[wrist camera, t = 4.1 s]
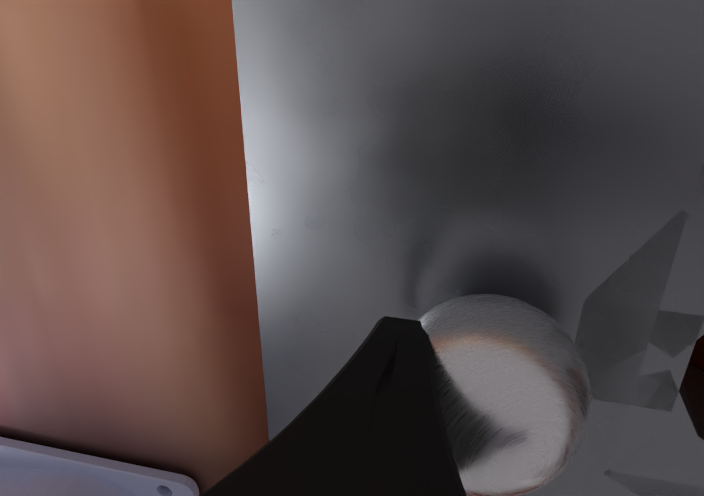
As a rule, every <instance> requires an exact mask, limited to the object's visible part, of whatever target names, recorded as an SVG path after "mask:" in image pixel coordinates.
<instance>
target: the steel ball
mask: <svg viewBox="0 0 704 496" xmlns="http://www.w3.org/2000/svg"><path fill="white" fill-rule="evenodd" d="M417 321H421V325H422V327H423V329H424V330H425V332H426V333H427V334H428V336H429V340H430V343H431V345H432V348H433V351H434V362H435V372H436V380H437V387H438V393H439V398H440V403H441V408H442V413H443V418H444V422H445V426H446V430H447V434H448V438H449V441H450V445H451V448H452V452H453V456H454V459H455V462H456V465H457V469H458V472H459V475H460V478H461V481H462V484H463V487H464V489H465V492H466V495H467V496H522V495H525V494H528V493H530V492H533V491H535V490H537V489H539V488H541V487H543V486H544V485H546V484H548V483H549V482H551V481H552V480H553V479H555V478H556V477H557V476H558V475H559V474H561V473H562V472H563V471H564V470H565V469H566V468H567V466H568V465H569V464H570V463H571V461H572V460H573V459H574V457H575V456H576V454H577V452H578V451H579V449H580V447H581V445H582V443H583V441H584V438H585V436H586V433H587V430H588V426H589V422H590V416H591V408H592V396H591V385H590V380H589V376H588V372H587V368H586V366H585V363H584V360H583V358H582V356H581V354H580V352H579V350H578V348H577V347H576V345H575V343H574V342H573V340H572V339H571V338H570V336H569V335H568V334H567V332H566V331H565V330H564V329H563V328H562V327H561V326H560V325H559V324H558V323H557V322H556V321H555V320H554V319H552V318H551V317H550V316H549V315H547V314H546V313H544V312H543V311H542V310H540V309H538V308H536V307H535V306H533V305H531V304H529V303H526V302H524V301H522V300H519V299H516V298H512V297H508V296H503V295H498V294H473V295H466V296H461V297H458V298H454V299H451V300H449V301H446V302H444V303H442V304H440V305H438V306H436V307H434V308H433V309H431V310H430V311H428V312H427V313H425V314H424V315H423V316H422V317H420V318H419V319H418V320H417Z"/></svg>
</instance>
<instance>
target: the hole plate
mask: <svg viewBox="0 0 704 496" xmlns="http://www.w3.org/2000/svg"><path fill="white" fill-rule="evenodd" d="M232 7H233V19H234V31H235V42H236V54H237V66H238V78H239V90H240V102H241V114H242V125H243V137H244V149H245V161H246V173H247V185H248V196H249V208H250V220H251V232H252V244H253V256H254V267H255V279H256V291H257V303H258V315H259V327H260V338H261V350H262V362H263V374H264V386H265V398H266V409H267V421H268V433H269V441H271V440H272V439H273V438H274V437H275V436H276V435H277V434H278V433H280V432H281V431H282V430H283V429H284V428H285V427H286V426H287V425H288V424H289V423H290V422H291V421H292V420H293V419H294V418H295V417H296V416H297V415H298V414H299V413H300V412H301V411H302V410H303V409H304V408H305V407H306V406H307V405H308V404H309V403H310V402H311V401H312V400H313V399H314V398H315V397H316V396H317V395H318V394H319V393H320V392H321V391H322V390H323V389H324V388H325V387H326V386H327V384H328V383H329V382H330V381H331V380H332V379H333V378H334V377H335V375H336V374H337V373H338V372H339V371H340V370H341V369H342V367H343V366H344V365H345V364H346V363H347V362H348V360H349V359H350V358H351V357H352V355H353V354H354V353H355V352H356V350H357V349H358V348H359V347H360V345H361V344H362V343H363V341H364V340H365V339H366V337H367V336H368V335H369V333H370V332H371V330H372V329H373V328H374V326H375V325H376V323H377V322H378V320H380V319H381V318H383V317H384V316H388V317H395V318H403V319H410V320H418V319H419V318H420V317H422V316H423V315H424V314H425V313H427V312H428V311H430V310H431V309H433V308H434V307H436V306H438V305H440V304H442V303H444V302H446V301H449V300H451V299H454V298H458V297H461V296H466V295H473V294H498V295H503V296H508V297H512V298H516V299H519V300H522V301H524V302H526V303H529V304H531V305H533V306H535V307H536V308H538V309H540V310H542V311H543V312H544V313H546V314H547V315H549V316H550V317H551V318H552V319H554V320H555V321H556V322H557V323H558V324H559V325H560V326H561V327H562V328H563V329H564V330H565V331H566V332H567V334H568V335H569V336H570V338H571V339H572V340H573V342H574V343H575V345H576V347H577V348H578V350H579V352H580V354H581V356H582V358H583V360H584V363H585V366H586V368H587V372H588V376H589V380H590V385H591V396H592V408H591V416H590V422H589V426H588V430H587V433H586V436H585V438H584V441H583V443H582V445H581V447H580V449H579V451H578V452H577V454H576V456H575V457H574V459H573V460H572V461H571V463H570V464H569V465H568V466H567V468H566V469H565V470H564V471H563V472H562V473H561V474H559V475H558V476H557V477H556V478H555V479H553V480H552V481H551V482H549V483H548V484H546V485H544V486H543V487H541V488H539V489H537V490H535V491H533V492H530V493H528V494H525V495H522V496H704V371H702V370H700V369H699V368H697V367H696V366H694V365H693V364H691V363H690V362H689V360H690V357H691V354H692V351H693V349H694V346H695V343H696V340H697V339H699V338H700V337H701V336H703V335H704V0H232Z"/></svg>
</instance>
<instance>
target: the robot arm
mask: <svg viewBox="0 0 704 496" xmlns="http://www.w3.org/2000/svg"><path fill="white" fill-rule="evenodd" d="M0 496H467V495H466V492H465V489H464V487H463V484H462V481H461V478H460V475H459V472H458V469H457V465H456V462H455V459H454V456H453V452H452V448H451V445H450V441H449V438H448V434H447V430H446V426H445V422H444V418H443V413H442V408H441V403H440V398H439V393H438V387H437V380H436V372H435V362H434V351H433V348H432V345H431V343H430V340H429V336H428V334H427V333H426V332H425V330H424V329H423V327H422V325H421V321H417V320H410V319H403V318H395V317H388V316H384V317H383V318H381V319H380V320H378V322H377V323H376V325H375V326H374V328H373V329H372V330H371V332H370V333H369V335H368V336H367V337H366V339H365V340H364V341H363V343H362V344H361V345H360V347H359V348H358V349H357V350H356V352H355V353H354V354H353V355H352V357H351V358H350V359H349V360H348V362H347V363H346V364H345V365H344V366H343V367H342V369H341V370H340V371H339V372H338V373H337V374H336V375H335V377H334V378H333V379H332V380H331V381H330V382H329V383H328V384H327V386H326V387H325V388H324V389H323V390H322V391H321V392H320V393H319V394H318V395H317V396H316V397H315V398H314V399H313V400H312V401H311V402H310V403H309V404H308V405H307V406H306V407H305V408H304V409H303V410H302V411H301V412H300V413H299V414H298V415H297V416H296V417H295V418H294V419H293V420H292V421H291V422H290V423H289V424H288V425H287V426H286V427H285V428H284V429H283V430H282V431H281V432H280V433H278V434H277V435H276V436H275V437H274V438H273V439H272V440H271V441H269V442H268V443H267V444H266V445H265V446H264V447H262V448H261V449H260V450H259V451H258V452H256V453H255V454H254V455H253V456H252V457H250V458H249V459H248V460H247V461H245V462H244V463H243V464H242V465H240V466H239V467H238V468H236V469H235V470H234V471H232V472H231V473H230V474H228V475H227V476H226V477H224V478H223V479H222V480H220V481H219V482H218V483H216V484H215V485H214V486H212V487H211V488H209V489H208V490H207V491H205V492H204V493H202V494H201V495H199V489H198V486H197V484H196V482H195V481H194V480H193V479H191V478H190V477H188V476H185V475H182V474H178V473H173V472H168V471H163V470H158V469H154V468H149V467H144V466H139V465H134V464H129V463H125V462H120V461H115V460H110V459H105V458H100V457H96V456H91V455H86V454H81V453H76V452H72V451H67V450H62V449H57V448H52V447H47V446H43V445H38V444H33V443H28V442H23V441H19V440H14V439H9V438H4V437H0Z"/></svg>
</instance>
